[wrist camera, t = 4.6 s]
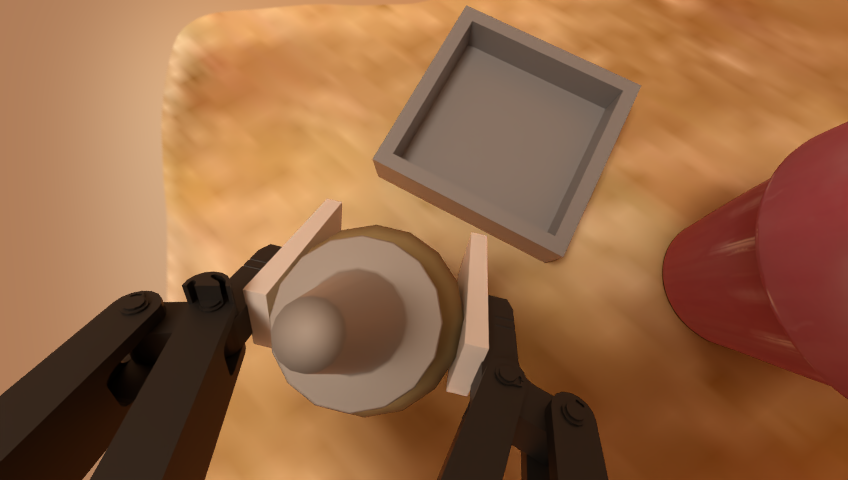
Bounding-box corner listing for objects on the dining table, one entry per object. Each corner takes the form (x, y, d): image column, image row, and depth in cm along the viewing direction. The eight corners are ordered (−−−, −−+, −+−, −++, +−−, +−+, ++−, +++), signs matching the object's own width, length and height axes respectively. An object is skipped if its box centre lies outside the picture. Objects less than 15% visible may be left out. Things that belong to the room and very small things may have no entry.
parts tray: (615, 110, 26) (641, 85, 23) (545, 262, 23) (563, 257, 20) (461, 37, 27) (466, 5, 24) (378, 176, 24) (372, 159, 21)
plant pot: (750, 161, 25) (1083, 21, 12) (861, 332, 23) (1411, 372, 10) (590, 230, 24) (780, 151, 11) (690, 418, 21) (1070, 583, 9)
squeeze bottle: (476, 311, 23) (679, 346, 5) (391, 395, 21) (259, 829, 4) (399, 229, 24) (340, 17, 6) (314, 305, 23) (-67, 321, 5)
